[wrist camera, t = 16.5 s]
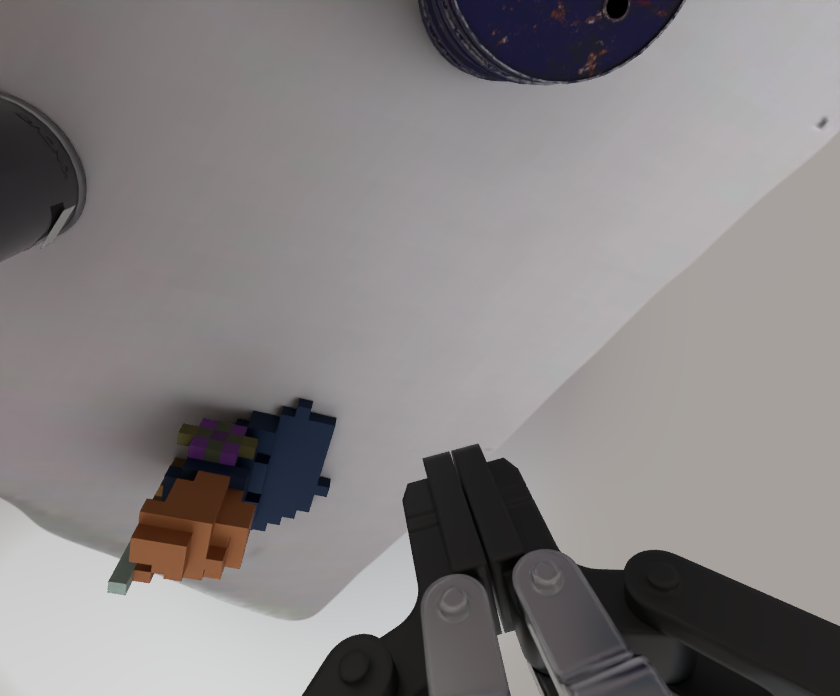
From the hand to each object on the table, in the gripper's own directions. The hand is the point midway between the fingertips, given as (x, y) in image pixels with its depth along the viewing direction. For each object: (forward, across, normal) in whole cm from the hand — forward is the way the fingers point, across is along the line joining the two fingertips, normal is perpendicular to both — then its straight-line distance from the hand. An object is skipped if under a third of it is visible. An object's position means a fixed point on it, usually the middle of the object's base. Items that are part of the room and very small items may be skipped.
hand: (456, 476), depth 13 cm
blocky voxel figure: (+29, -15, -18) cm, 38 cm away
